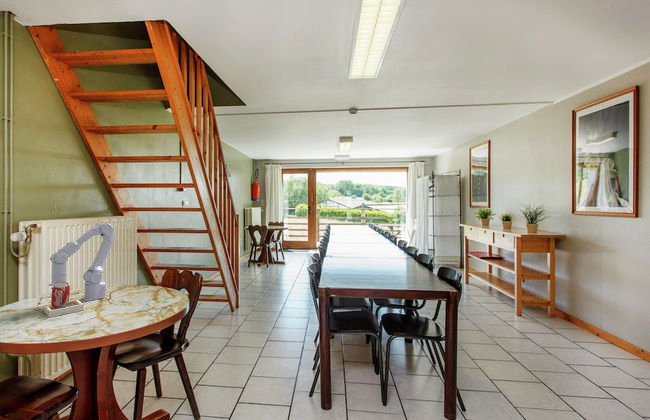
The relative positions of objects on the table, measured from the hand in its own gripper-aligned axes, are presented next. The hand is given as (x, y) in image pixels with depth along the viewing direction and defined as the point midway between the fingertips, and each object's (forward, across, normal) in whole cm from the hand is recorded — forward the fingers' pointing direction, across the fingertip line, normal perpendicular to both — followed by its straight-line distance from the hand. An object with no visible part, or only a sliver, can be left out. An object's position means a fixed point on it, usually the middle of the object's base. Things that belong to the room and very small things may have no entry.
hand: (58, 300), depth 157 cm
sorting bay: (+3, +12, 0) cm, 13 cm away
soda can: (+2, +3, 0) cm, 4 cm away
